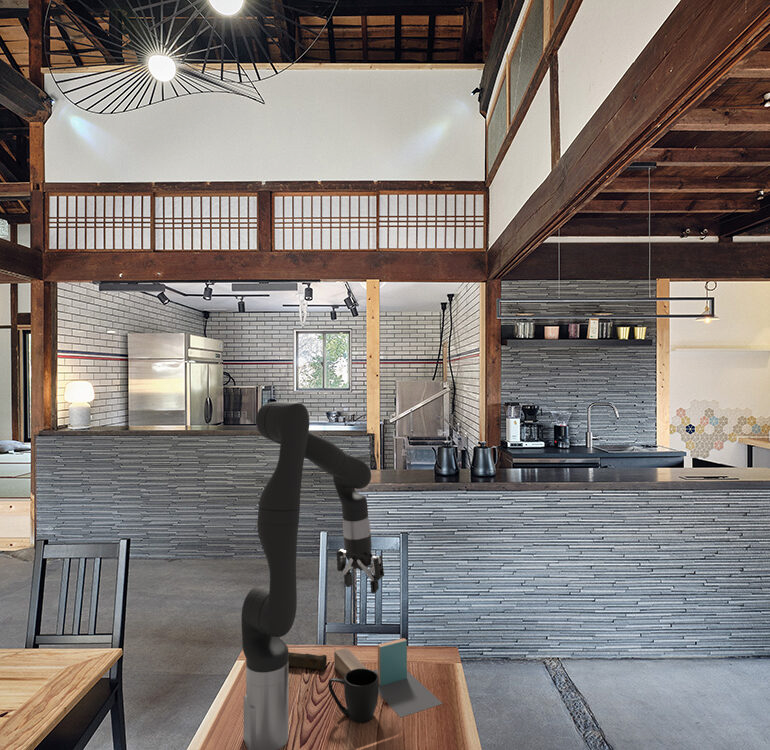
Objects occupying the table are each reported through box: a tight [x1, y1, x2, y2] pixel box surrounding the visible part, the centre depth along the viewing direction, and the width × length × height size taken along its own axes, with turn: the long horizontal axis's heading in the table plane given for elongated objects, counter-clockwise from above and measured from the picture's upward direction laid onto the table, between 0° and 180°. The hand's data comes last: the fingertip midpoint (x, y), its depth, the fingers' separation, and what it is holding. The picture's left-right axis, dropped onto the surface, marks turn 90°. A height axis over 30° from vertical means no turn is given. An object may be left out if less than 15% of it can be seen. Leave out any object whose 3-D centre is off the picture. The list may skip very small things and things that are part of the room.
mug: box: [327, 668, 379, 724], centre depth 128 cm, size 8×12×10 cm
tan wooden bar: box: [333, 647, 368, 679], centre depth 143 cm, size 4×18×5 cm, turn 27°
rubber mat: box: [373, 668, 444, 718], centre depth 139 cm, size 12×22×1 cm, turn 28°
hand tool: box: [288, 651, 328, 672], centre depth 152 cm, size 19×4×5 cm, turn 76°
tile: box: [377, 637, 408, 686], centre depth 143 cm, size 8×2×10 cm, turn 118°
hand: (361, 589), depth 150 cm, fingers open, 8 cm apart
